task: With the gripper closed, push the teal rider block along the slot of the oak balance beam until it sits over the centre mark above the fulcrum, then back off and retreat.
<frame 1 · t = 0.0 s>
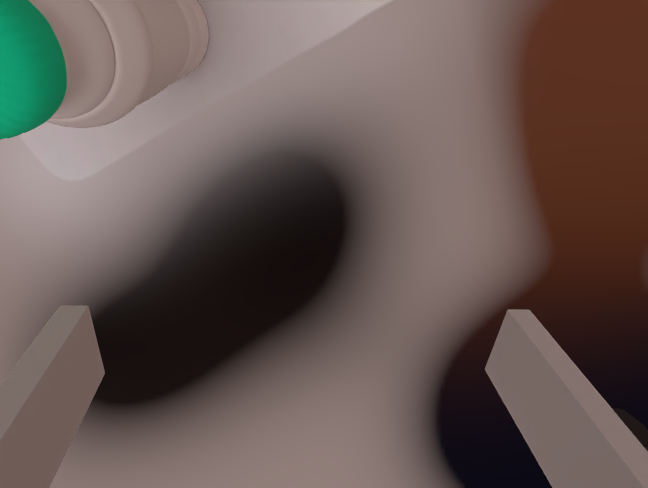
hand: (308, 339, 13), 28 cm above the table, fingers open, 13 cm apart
white bottle: (165, 28, 33), on the table
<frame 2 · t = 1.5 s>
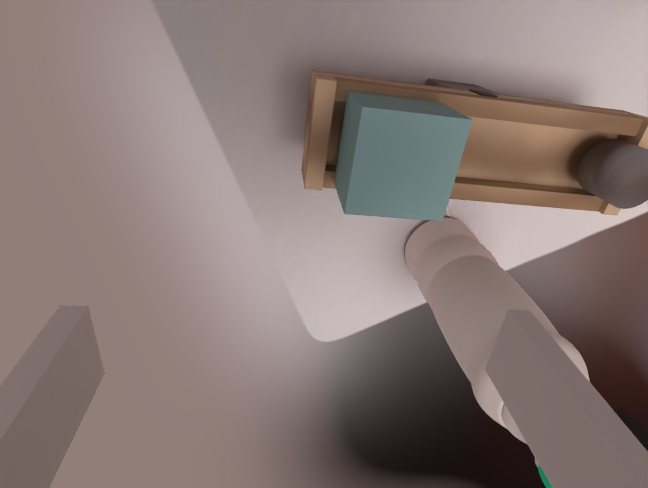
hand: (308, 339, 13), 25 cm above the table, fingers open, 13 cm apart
white bottle: (436, 245, 42), on the table
beam: (440, 124, 35), on the table
rider: (391, 151, 25), point 10 cm above the table, slide at 0.0 cm
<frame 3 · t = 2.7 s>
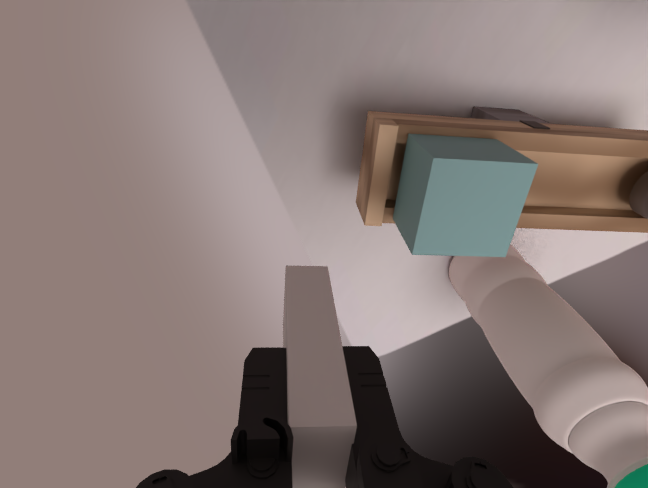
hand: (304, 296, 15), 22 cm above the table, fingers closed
white bottle: (479, 262, 43), on the table
beam: (484, 148, 36), on the table
rider: (451, 190, 26), point 10 cm above the table, slide at 0.0 cm
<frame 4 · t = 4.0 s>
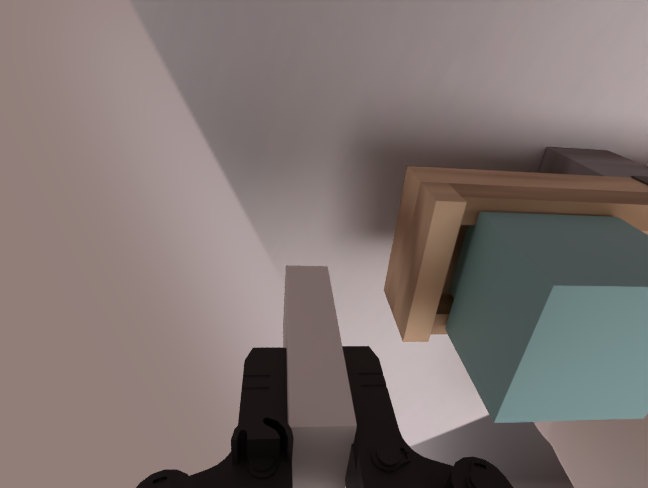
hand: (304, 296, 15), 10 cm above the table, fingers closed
white bottle: (535, 340, 33), on the table
beam: (556, 202, 26), on the table
rider: (548, 300, 16), point 10 cm above the table, slide at 0.0 cm
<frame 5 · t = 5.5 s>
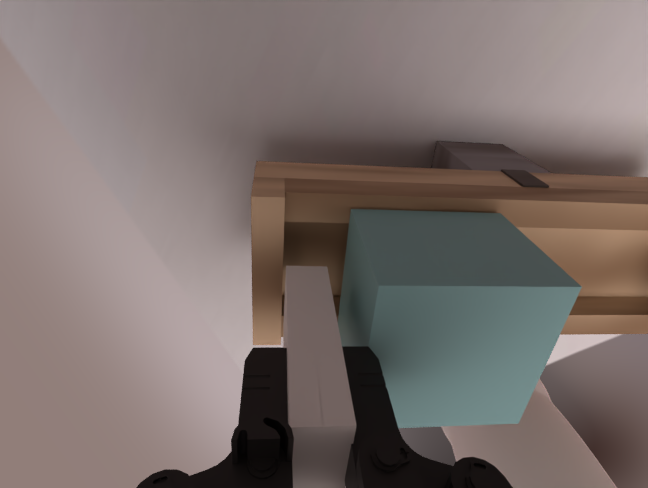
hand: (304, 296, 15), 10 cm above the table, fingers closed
white bottle: (456, 341, 32), on the table
beam: (456, 198, 25), on the table
rider: (426, 301, 16), point 10 cm above the table, slide at 1.7 cm, touching gripper
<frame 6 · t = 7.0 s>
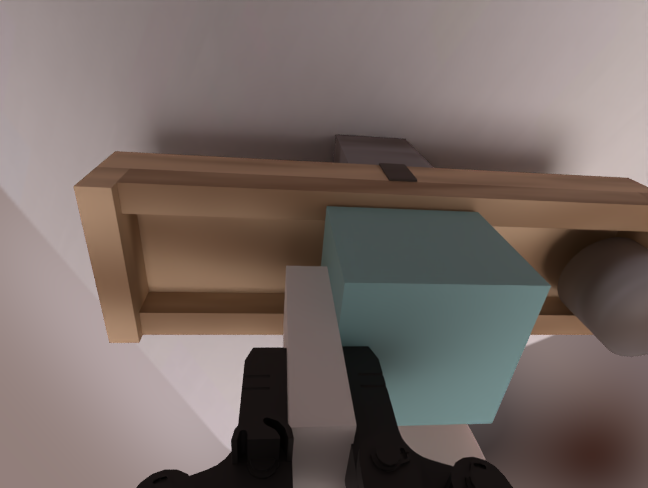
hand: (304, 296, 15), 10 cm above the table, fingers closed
white bottle: (380, 341, 31), on the table
beam: (362, 194, 25), on the table
rider: (402, 299, 16), point 10 cm above the table, slide at 6.7 cm, touching gripper
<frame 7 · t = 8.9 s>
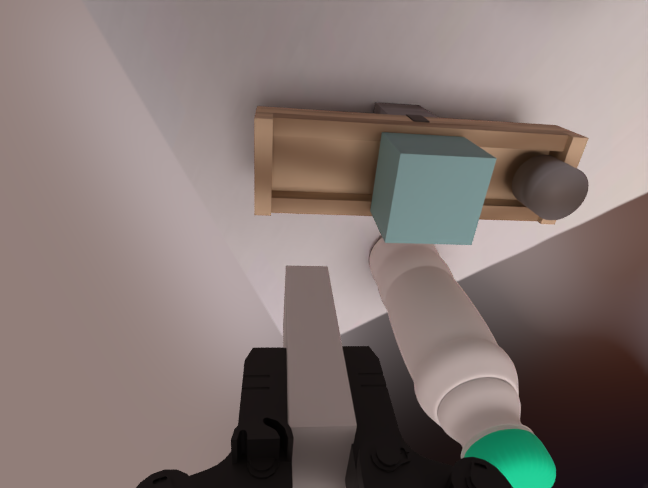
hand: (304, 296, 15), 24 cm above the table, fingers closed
white bottle: (399, 254, 44), on the table
beam: (391, 143, 38), on the table
rider: (422, 183, 29), point 10 cm above the table, slide at 6.7 cm
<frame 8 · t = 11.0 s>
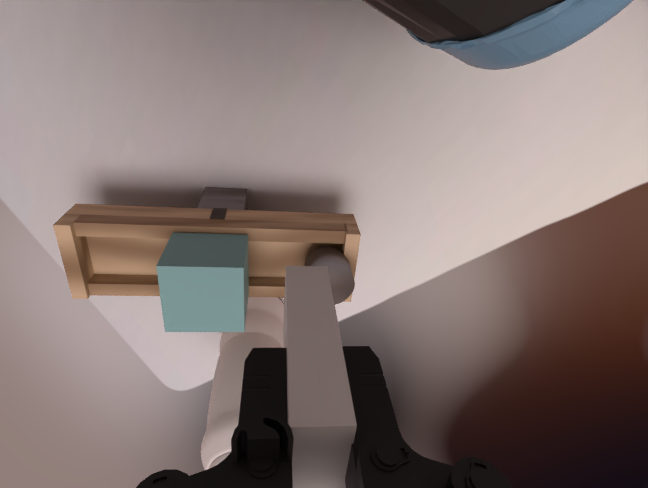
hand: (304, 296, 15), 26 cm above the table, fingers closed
white bottle: (256, 310, 49), on the table
beam: (227, 219, 42), on the table
rider: (209, 276, 33), point 10 cm above the table, slide at 6.7 cm
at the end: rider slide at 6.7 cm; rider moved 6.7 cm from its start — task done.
